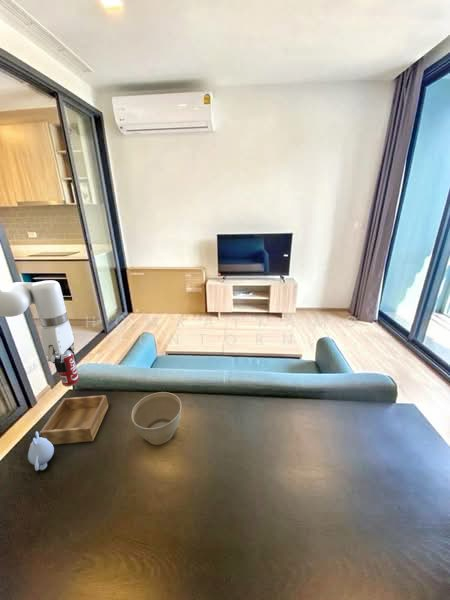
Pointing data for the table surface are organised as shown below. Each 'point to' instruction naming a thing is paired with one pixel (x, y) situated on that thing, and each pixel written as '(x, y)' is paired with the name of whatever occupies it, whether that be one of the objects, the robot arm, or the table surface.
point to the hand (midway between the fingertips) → (66, 366)
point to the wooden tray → (75, 420)
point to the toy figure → (40, 452)
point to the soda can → (69, 370)
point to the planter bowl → (157, 417)
